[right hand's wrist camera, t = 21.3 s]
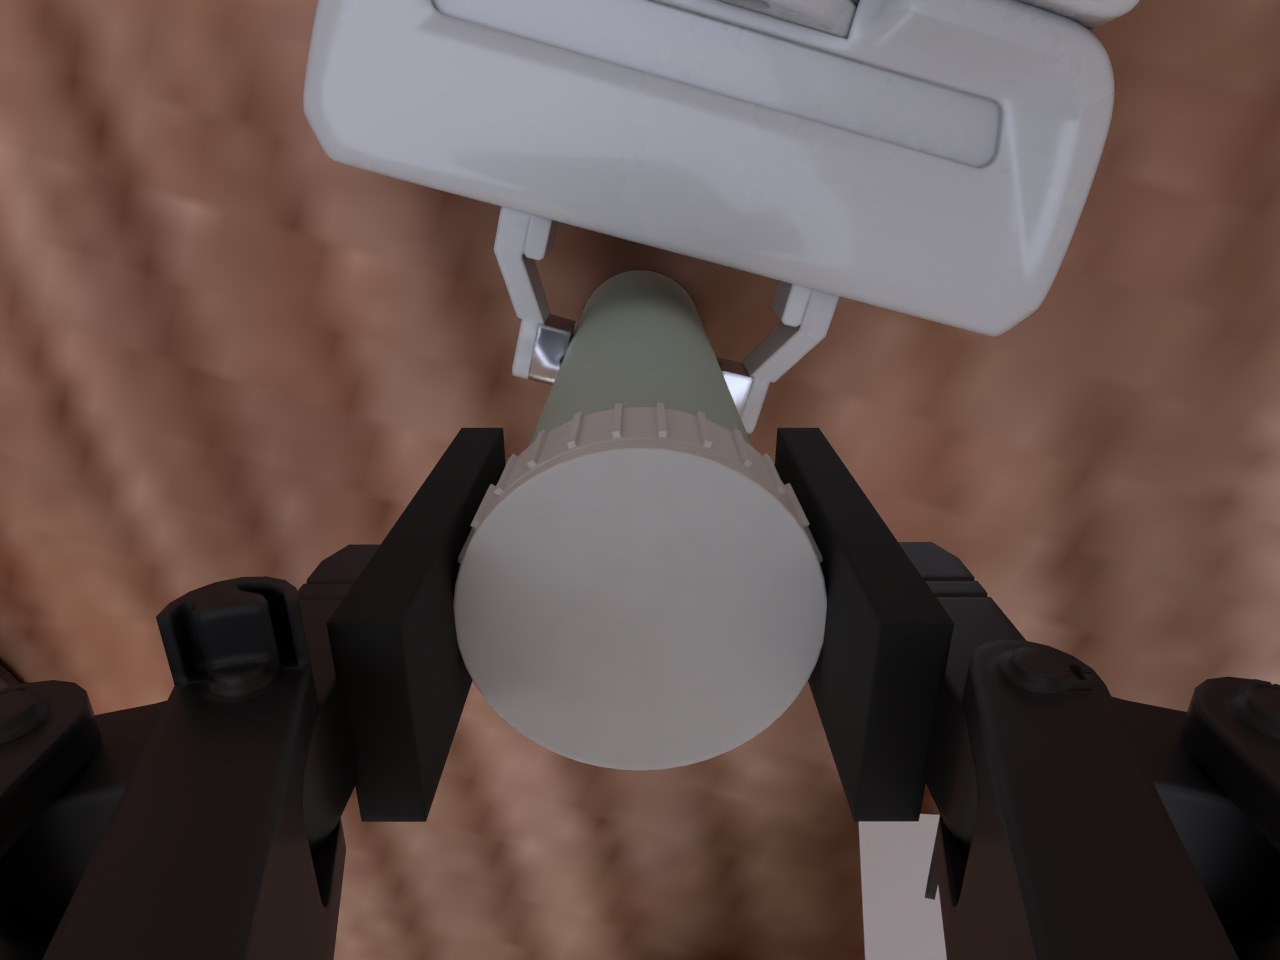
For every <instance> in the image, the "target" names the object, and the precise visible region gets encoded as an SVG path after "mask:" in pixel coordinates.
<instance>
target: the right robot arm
mask: <svg viewBox="0 0 1280 960" xmlns="http://www.w3.org/2000/svg"><path fill="white" fill-rule="evenodd" d="M505 466H506V465H505V450H504V436H503V428H461V430H460V431H459V433H458V434H457V436H456V437H455V438H454V440H453V441H452V443H451V444H450V446H449V447H448V449H447V450H446V451H445V453H444V454H443V456H442V457H441V459H440V460H439V462H438V463H437V464H436V466H435V467H434V469H433V470H432V472H431V473H430V475H429V476H428V477H427V479H426V480H425V482H424V483H423V485H422V486H421V487H420V489H419V490H418V492H417V493H416V495H415V496H414V498H413V499H412V500H411V502H410V503H409V505H408V506H407V508H406V509H405V511H404V512H403V513H402V515H401V516H400V518H399V519H398V521H397V522H396V524H395V525H394V526H393V528H392V529H391V531H390V532H389V534H388V535H387V536H386V538H385V539H384V541H383V542H382V544H381V545H348V546H346V547H345V548H343V549H341V550H340V551H338V552H336V553H335V554H333V555H331V556H330V557H328V558H326V559H325V560H323V561H322V562H321V563H320V564H319V566H318V567H317V568H316V569H315V570H314V572H313V573H312V574H311V575H310V577H309V578H308V579H307V584H303V585H302V586H301V588H300V589H299V590H298V591H297V588H295V587H294V586H293V585H291V584H290V583H288V582H287V581H286V580H281V579H276V578H271V577H241V578H236V579H230V580H225V581H220V582H215V583H213V584H210V585H207V586H204V587H201V588H198V589H196V590H193V591H190V592H188V593H187V594H185V595H183V596H181V597H180V598H178V599H176V600H174V601H173V602H171V603H169V604H168V605H167V606H166V607H165V608H164V609H163V610H162V611H161V612H160V613H159V614H158V615H157V616H156V619H157V622H158V626H159V630H160V633H161V637H162V641H163V644H164V648H165V651H166V655H167V659H168V662H169V666H170V670H171V673H172V677H173V681H174V684H175V686H174V688H173V690H172V692H171V694H170V696H169V699H168V701H164V702H160V703H156V704H151V705H146V706H141V707H136V708H130V709H125V710H120V711H115V712H110V713H105V714H100V715H94V713H93V710H92V707H91V704H90V701H89V698H88V695H87V692H86V691H85V690H84V689H82V688H81V687H80V686H78V685H77V684H75V683H72V682H64V681H56V680H51V681H42V682H33V683H23V684H20V683H19V682H18V681H17V680H16V679H15V678H14V677H13V676H12V674H11V673H10V672H9V671H8V670H7V669H5V668H4V667H3V666H2V665H1V664H0V960H333V958H334V950H335V941H336V932H337V924H338V915H339V906H340V897H341V889H342V880H343V871H344V863H345V854H346V845H345V839H344V833H343V828H342V823H341V815H342V813H343V811H344V809H345V806H346V804H347V802H348V800H349V798H350V796H351V793H352V791H353V789H354V787H356V792H357V798H358V803H359V809H360V814H361V820H362V822H426V820H427V817H428V814H429V811H430V808H431V805H432V802H433V799H434V796H435V793H436V790H437V787H438V783H439V780H440V777H441V774H442V771H443V768H444V765H445V762H446V759H447V756H448V753H449V750H450V747H451V744H452V741H453V738H454V735H455V732H456V729H457V726H458V723H459V720H460V717H461V714H462V711H463V707H464V704H465V701H466V698H467V695H468V692H469V689H470V686H471V683H472V678H471V676H470V674H469V672H468V670H467V668H466V666H465V663H464V661H463V658H462V655H461V652H460V650H459V647H458V642H457V635H456V627H455V617H454V607H453V600H454V590H455V582H456V578H457V575H458V571H459V567H460V564H459V563H458V557H459V555H460V553H461V550H462V548H463V546H464V544H465V542H466V540H467V538H468V536H469V533H470V531H471V529H472V527H471V523H472V521H473V519H474V517H475V515H476V513H477V511H478V509H479V507H480V504H481V502H482V500H483V498H484V496H485V494H486V492H487V490H488V488H489V486H490V484H492V485H494V486H496V485H497V483H498V482H499V480H500V477H501V475H502V473H503V471H504V469H505ZM775 468H776V470H777V472H778V475H779V477H780V479H781V481H782V482H783V484H784V485H786V484H788V483H790V485H791V487H792V489H793V491H794V493H795V495H796V497H797V499H798V501H799V503H800V505H801V507H802V509H803V511H804V514H805V516H806V518H807V520H808V522H809V524H810V525H809V526H808V527H809V530H810V532H811V534H812V536H813V538H814V540H815V542H816V544H817V546H818V549H819V551H820V553H821V555H822V558H823V561H822V562H821V563H820V565H821V568H822V572H823V575H824V579H825V586H826V593H827V612H826V622H825V631H824V640H823V645H822V648H821V651H820V654H819V658H818V661H817V663H816V665H815V667H814V669H813V671H812V673H811V675H810V677H809V680H808V682H809V685H810V688H811V691H812V694H813V697H814V700H815V703H816V706H817V709H818V712H819V715H820V718H821V721H822V724H823V727H824V730H825V734H826V737H827V740H828V743H829V746H830V749H831V752H832V755H833V758H834V761H835V764H836V767H837V770H838V773H839V776H840V779H841V782H842V785H843V788H844V791H845V794H846V797H847V800H848V803H849V806H850V809H851V813H852V816H853V819H854V821H865V822H919V817H920V811H921V806H922V800H923V795H924V789H925V784H927V786H928V789H929V791H930V793H931V795H932V797H933V799H934V801H935V804H936V806H937V808H938V810H939V812H940V817H939V823H938V828H937V833H936V838H935V843H934V849H933V854H932V859H931V864H930V869H929V875H928V880H927V886H926V892H925V898H928V899H933V900H935V897H936V892H937V887H939V896H940V904H941V913H942V922H943V930H944V939H945V948H946V956H947V960H1280V685H1278V684H1274V685H1272V684H1271V683H1270V682H1266V681H1262V680H1257V679H1243V678H1235V677H1222V678H1215V679H1207V680H1206V681H1204V682H1203V683H1201V684H1200V685H1199V686H1197V687H1196V688H1195V691H1194V694H1193V697H1192V700H1191V703H1190V706H1189V709H1188V712H1183V711H1178V710H1173V709H1168V708H1162V707H1157V706H1152V705H1147V704H1142V703H1136V702H1131V701H1126V700H1122V699H1119V698H1115V697H1111V695H1110V693H1109V691H1108V689H1107V687H1106V685H1105V683H1104V682H1103V681H1102V680H1101V678H1100V677H1099V676H1098V675H1097V674H1096V672H1095V671H1094V670H1093V669H1092V668H1090V667H1089V666H1087V665H1086V664H1084V663H1083V662H1081V661H1080V660H1078V659H1077V658H1075V657H1074V656H1072V655H1069V654H1067V653H1065V652H1062V651H1060V650H1057V649H1055V648H1053V647H1050V646H1047V645H1042V644H1038V643H1033V642H1029V641H1026V640H1025V638H1024V637H1023V636H1022V635H1021V634H1020V632H1019V631H1018V630H1017V629H1016V628H1015V626H1014V625H1013V624H1012V623H1011V621H1010V620H1009V619H1008V618H1007V617H1006V615H1005V614H1004V613H1003V612H1002V610H1001V609H1000V608H999V607H998V606H997V604H996V603H995V602H994V601H993V600H992V598H991V597H987V592H986V591H985V590H984V589H983V587H982V586H981V585H980V584H979V583H978V581H974V576H973V575H972V574H971V573H970V572H969V570H968V569H967V568H966V567H965V565H964V564H963V563H962V562H961V561H960V559H959V558H957V557H956V556H954V555H952V554H950V553H949V552H947V551H945V550H944V549H942V548H940V547H939V546H937V545H935V544H934V543H932V542H897V540H896V539H895V537H894V536H893V534H892V533H891V531H890V530H889V529H888V527H887V526H886V524H885V523H884V521H883V520H882V518H881V517H880V516H879V514H878V513H877V511H876V510H875V508H874V507H873V506H872V504H871V503H870V501H869V500H868V498H867V497H866V495H865V494H864V493H863V491H862V490H861V488H860V487H859V485H858V484H857V482H856V481H855V480H854V478H853V477H852V475H851V474H850V472H849V471H848V470H847V468H846V467H845V465H844V464H843V462H842V461H841V459H840V458H839V457H838V455H837V454H836V452H835V451H834V449H833V448H832V446H831V445H830V444H829V442H828V441H827V439H826V438H825V436H824V435H823V433H822V432H821V431H820V429H819V428H778V429H777V443H776V457H775Z"/></svg>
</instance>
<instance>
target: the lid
mask: <svg viewBox="0 0 1280 960" xmlns="http://www.w3.org/2000/svg"><path fill="white" fill-rule="evenodd" d="M809 525H810V524H809V522H808V520H807V518H806V516H805V514H804V511H803V509H802V507H801V505H800V503H799V501H798V499H797V497H796V495H795V493H794V491H793V489H792V487H791V485H790V483H788V484H786V485H784V484H783V482H782V481H781V479H780V477H779V475H778V472H777V470H776V468H775V466H774V464H773V462H772V459H771V457H770V456H769V455H768V454H767V453H765V454H764V455H763V456H762V455H761V454H760V453H759V452H758V451H756V450H755V449H754V448H753V447H752V446H750V445H749V444H748V443H747V442H746V441H744V438H743V436H742V433H741V431H739V430H737V429H734V431H733V432H731V431H729V430H727V429H726V428H724V427H722V426H720V425H718V424H716V423H713V422H711V421H709V420H707V419H706V416H705V413H702V412H699V411H698V413H697V415H696V416H695V415H692V414H689V413H685V412H682V411H676V410H670V409H665V405H664V403H657V408H656V407H627V408H623V404H622V403H617V404H615V408H614V409H610V410H605V411H600V412H595V413H591V414H588V415H585V416H583V414H582V412H578V413H576V414H575V415H574V418H573V420H571V421H569V422H567V423H565V424H563V425H561V426H559V427H557V428H555V429H553V430H551V431H550V432H548V433H547V432H546V431H545V429H543V430H542V431H540V432H539V433H538V436H537V438H536V441H535V442H533V443H532V444H531V445H530V446H529V447H528V448H527V449H526V450H524V451H523V452H522V453H521V454H520V455H519V456H518V457H517V456H516V455H515V454H513V455H512V456H511V457H510V458H509V460H508V462H507V464H506V466H505V469H504V471H503V473H502V475H501V477H500V480H499V482H498V483H497V485H496V486H494V485H492V484H490V486H489V488H488V490H487V492H486V494H485V496H484V498H483V500H482V502H481V504H480V507H479V509H478V511H477V513H476V515H475V517H474V519H473V521H472V523H471V527H472V529H471V531H470V533H469V536H468V538H467V540H466V542H465V544H464V546H463V548H462V550H461V553H460V555H459V557H458V563H459V564H460V567H459V571H458V575H457V578H456V582H455V590H454V600H453V607H454V617H455V627H456V635H457V642H458V647H459V650H460V652H461V655H462V658H463V661H464V663H465V666H466V668H467V670H468V672H469V674H470V676H471V678H472V680H473V682H474V683H475V685H476V687H477V688H478V690H479V691H480V692H481V694H482V695H483V696H484V698H485V699H486V701H487V702H488V703H489V704H490V705H491V706H492V707H493V709H494V710H495V711H496V712H497V713H498V714H499V715H500V716H501V717H502V718H503V719H504V720H505V721H507V722H508V723H509V724H510V725H511V726H513V727H514V728H515V729H516V730H517V731H519V732H520V733H522V734H523V735H525V736H526V737H528V738H529V739H531V740H532V741H534V742H535V743H537V744H539V745H541V746H543V747H545V748H547V749H549V750H551V751H553V752H555V753H557V754H560V755H563V756H565V757H568V758H571V759H574V760H576V761H580V762H584V763H588V764H592V765H596V766H600V767H607V768H614V769H622V770H655V769H668V768H673V767H679V766H685V765H690V764H693V763H697V762H700V761H704V760H707V759H710V758H713V757H715V756H718V755H720V754H723V753H725V752H728V751H730V750H732V749H734V748H736V747H738V746H739V745H741V744H743V743H745V742H747V741H749V740H750V739H752V738H753V737H754V736H756V735H757V734H759V733H760V732H762V731H763V730H765V729H766V728H767V727H768V726H769V725H771V724H772V723H773V722H774V721H775V720H776V719H777V718H778V717H780V716H781V715H782V714H783V713H784V712H785V710H786V709H787V708H788V707H789V706H790V705H791V704H792V702H793V701H794V700H795V699H796V698H797V696H798V695H799V693H800V692H801V690H802V689H803V687H804V686H805V684H806V683H807V681H808V680H809V677H810V675H811V673H812V671H813V669H814V667H815V665H816V663H817V661H818V658H819V654H820V651H821V648H822V645H823V640H824V631H825V622H826V612H827V593H826V586H825V579H824V575H823V572H822V568H821V565H820V563H821V562H822V561H823V558H822V555H821V553H820V551H819V549H818V546H817V544H816V542H815V540H814V538H813V536H812V534H811V532H810V530H809V527H808V526H809Z"/></svg>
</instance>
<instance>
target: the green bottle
mask: <svg viewBox="0 0 1280 960" xmlns="http://www.w3.org/2000/svg"><path fill="white" fill-rule="evenodd" d="M617 403H622V404H623V408H627V407H656V408H657V403H664V405H665V409H670V410H676V411H682V412H685V413H689V414H692V415H695V416H696V415H697V413H698V411H699V412H702V413H705V416H706V419H707V420H709V421H711V422H713V423H716V424H718V425H720V426H722V427H724V428H726V429H727V430H729V431H731V432H733V431H734V429H737V430H739V431H741V433H742V436H743V438H744V441H746V442H747V443H748V444H749V445H750V446H752V444H751V442H750V440H749V437H748V435H747V432H746V430H745V427H744V425H743V422H742V420H741V417H740V415H739V413H738V410H737V408H736V405H735V403H734V400H733V398H732V395H731V393H730V391H729V388H728V386H727V383H726V381H725V378H724V376H723V373H722V371H721V368H720V366H719V364H718V361H717V359H716V356H715V354H714V351H713V349H712V346H711V344H710V341H709V339H708V337H707V334H706V332H705V329H704V327H703V324H702V322H701V319H700V317H699V315H698V312H697V310H696V307H695V305H694V303H693V301H692V299H691V297H690V296H689V295H688V293H687V292H686V291H685V290H684V289H683V288H682V287H681V286H680V285H679V284H678V283H676V282H675V281H674V280H672V279H671V278H669V277H667V276H665V275H662V274H660V273H657V272H653V271H646V270H633V271H627V272H624V273H620V274H618V275H615V276H613V277H611V278H610V279H608V280H606V281H605V282H604V283H602V284H601V285H600V286H599V287H598V288H597V289H596V290H595V291H594V292H593V294H592V295H591V296H590V298H589V299H588V301H587V303H586V305H585V307H584V310H583V312H582V315H581V317H580V320H579V322H578V325H577V327H576V329H575V332H574V334H573V337H572V339H571V342H570V344H569V347H568V349H567V352H566V354H565V357H564V359H563V361H562V364H561V366H560V369H559V371H558V374H557V376H556V379H555V381H554V384H553V386H552V388H551V391H550V393H549V396H548V398H547V401H546V403H545V406H544V408H543V411H542V413H541V416H540V418H539V420H538V423H537V425H536V428H535V430H534V433H533V435H532V438H531V440H530V443H529V445H528V447H529V446H530V445H531V444H532V443H533V442H535V441H536V438H537V436H538V433H539V432H540V431H542V430H543V429H545V431H546V432H547V433H548V432H550V431H551V430H553V429H555V428H557V427H559V426H561V425H563V424H565V423H567V422H569V421H571V420H573V418H574V415H575V414H576V413H578V412H582V414H583V416H585V415H588V414H591V413H595V412H600V411H605V410H610V409H614V408H615V404H617ZM528 447H527V448H528Z"/></svg>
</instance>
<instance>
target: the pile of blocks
mask: <svg viewBox="0 0 1280 960" xmlns="http://www.w3.org/2000/svg"><path fill="white" fill-rule="evenodd" d="M939 817H940V815H932V814H920V817H919V822H865V821H859V840H860V861H861V882H862V903H863V924H864V945H865V960H947V956H946V948H945V939H944V930H943V922H942V913H941V904H940V896H939V887H937V892H936V897H935V900H933V899H928V898H925V892H926V886H927V880H928V875H929V869H930V864H931V859H932V854H933V849H934V843H935V838H936V833H937V828H938V823H939Z"/></svg>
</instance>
